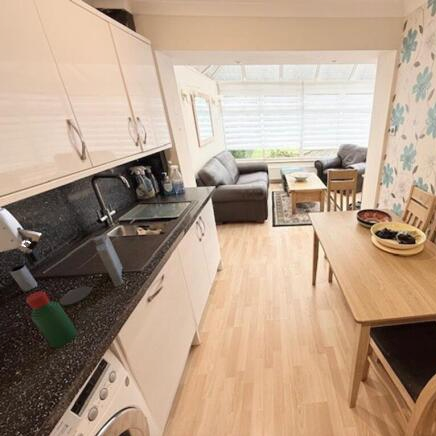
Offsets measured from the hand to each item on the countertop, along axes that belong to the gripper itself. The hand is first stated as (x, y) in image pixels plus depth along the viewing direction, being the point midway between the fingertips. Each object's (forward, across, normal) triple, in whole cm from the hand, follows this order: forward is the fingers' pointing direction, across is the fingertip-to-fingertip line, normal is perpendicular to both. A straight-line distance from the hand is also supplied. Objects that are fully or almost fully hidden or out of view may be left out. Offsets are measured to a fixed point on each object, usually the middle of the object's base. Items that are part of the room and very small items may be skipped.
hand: (15, 267), depth 64 cm
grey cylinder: (+28, -24, +39) cm, 54 cm away
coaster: (+28, -3, +23) cm, 36 cm away
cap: (+13, 0, 0) cm, 13 cm away
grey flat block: (+28, +10, +29) cm, 42 cm away
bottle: (+28, 0, 0) cm, 28 cm away
